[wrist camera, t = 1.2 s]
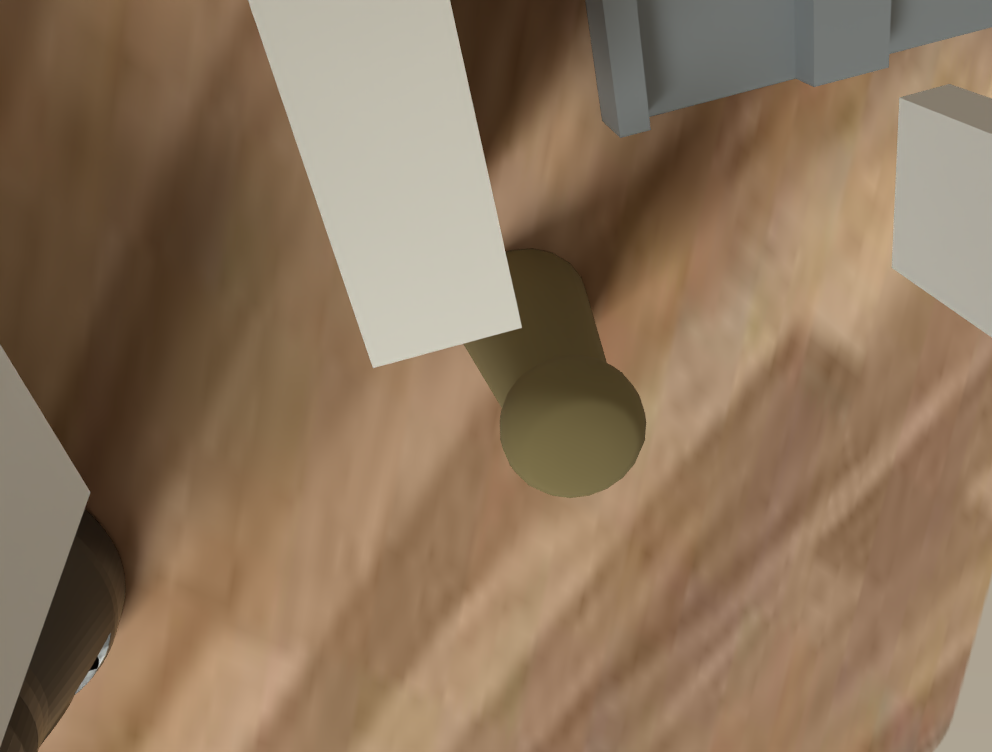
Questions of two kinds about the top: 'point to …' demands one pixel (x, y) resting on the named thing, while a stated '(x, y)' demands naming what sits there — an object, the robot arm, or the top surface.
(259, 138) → the top surface
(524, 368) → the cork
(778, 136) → the top surface
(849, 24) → the grey grooved stand
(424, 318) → the clay block
